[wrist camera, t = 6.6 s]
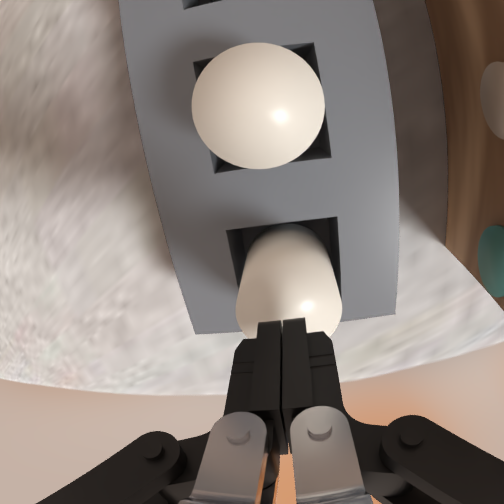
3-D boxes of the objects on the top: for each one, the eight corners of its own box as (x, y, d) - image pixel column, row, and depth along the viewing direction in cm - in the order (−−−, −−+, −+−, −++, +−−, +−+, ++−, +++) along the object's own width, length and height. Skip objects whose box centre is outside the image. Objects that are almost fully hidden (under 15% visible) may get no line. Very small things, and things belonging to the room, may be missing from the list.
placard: (429, -39, 10) (508, -97, 2) (460, 244, 17) (540, 329, 9) (405, -42, 10) (477, -112, 2) (439, 247, 17) (516, 337, 9)
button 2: (303, 57, 11) (313, 35, 7) (317, 145, 12) (332, 160, 9) (210, 71, 11) (181, 57, 8) (226, 158, 13) (205, 178, 9)
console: (326, -60, 10) (338, -100, 6) (373, 270, 18) (394, 313, 14) (148, -29, 12) (113, -58, 8) (211, 288, 20) (195, 334, 16)
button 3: (325, 218, 14) (340, 259, 10) (330, 292, 15) (342, 347, 12) (239, 229, 14) (225, 272, 11) (253, 300, 16) (245, 356, 12)
